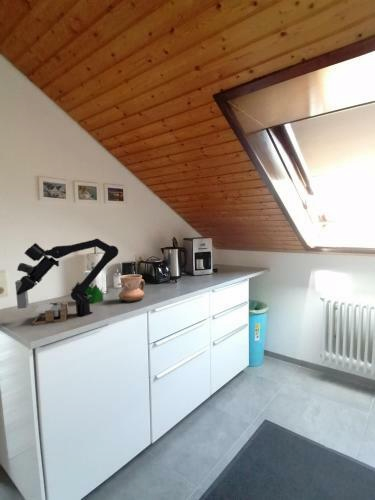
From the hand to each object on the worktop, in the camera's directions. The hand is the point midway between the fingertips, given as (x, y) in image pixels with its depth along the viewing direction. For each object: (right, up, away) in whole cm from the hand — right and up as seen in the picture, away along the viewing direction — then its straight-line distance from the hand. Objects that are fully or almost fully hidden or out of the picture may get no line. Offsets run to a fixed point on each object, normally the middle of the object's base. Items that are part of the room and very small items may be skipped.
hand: (18, 293), depth 132 cm
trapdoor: (+12, -10, +4) cm, 16 cm away
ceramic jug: (+46, -9, +34) cm, 58 cm away
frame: (+12, -13, +5) cm, 18 cm away
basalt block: (+2, -6, +1) cm, 7 cm away
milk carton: (+24, -10, +35) cm, 43 cm away
